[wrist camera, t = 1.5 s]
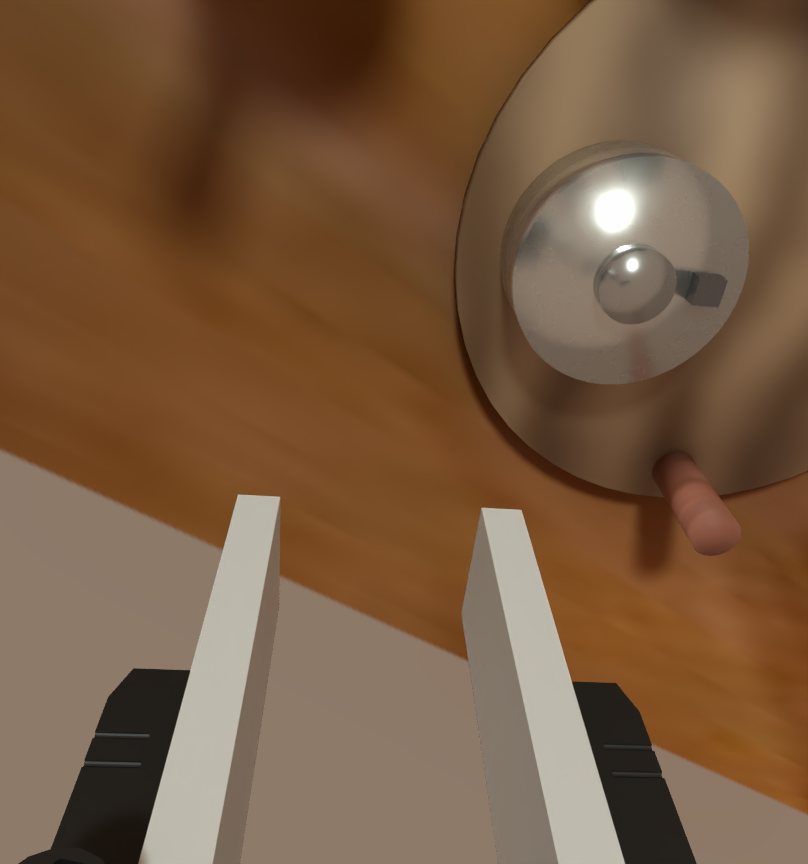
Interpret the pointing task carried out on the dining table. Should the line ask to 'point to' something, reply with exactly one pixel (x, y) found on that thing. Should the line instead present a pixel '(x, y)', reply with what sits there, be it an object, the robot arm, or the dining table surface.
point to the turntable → (767, 235)
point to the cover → (622, 261)
